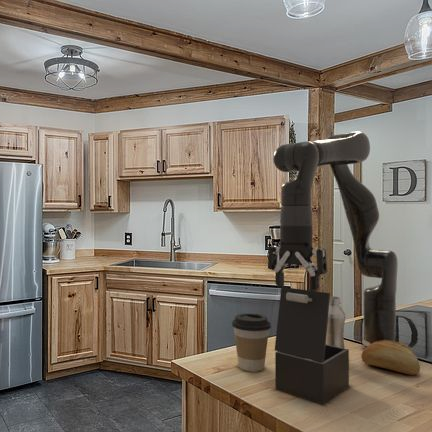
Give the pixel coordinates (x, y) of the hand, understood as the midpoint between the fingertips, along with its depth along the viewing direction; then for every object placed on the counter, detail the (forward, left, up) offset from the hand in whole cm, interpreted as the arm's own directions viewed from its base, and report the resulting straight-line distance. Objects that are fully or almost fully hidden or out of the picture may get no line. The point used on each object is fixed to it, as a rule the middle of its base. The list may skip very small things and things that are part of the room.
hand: (296, 289), depth 106 cm
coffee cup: (-19, -12, -27) cm, 35 cm away
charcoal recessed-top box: (-8, +4, -27) cm, 28 cm away
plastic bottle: (-29, +12, -27) cm, 41 cm away
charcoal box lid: (-3, +2, -9) cm, 9 cm away
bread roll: (-28, +27, -27) cm, 47 cm away
